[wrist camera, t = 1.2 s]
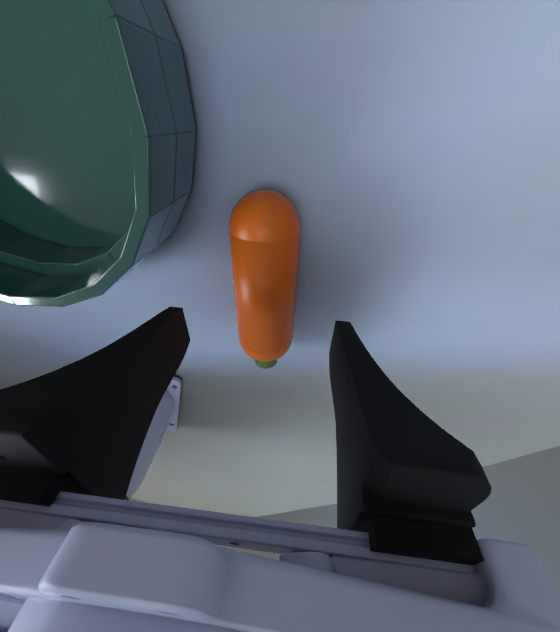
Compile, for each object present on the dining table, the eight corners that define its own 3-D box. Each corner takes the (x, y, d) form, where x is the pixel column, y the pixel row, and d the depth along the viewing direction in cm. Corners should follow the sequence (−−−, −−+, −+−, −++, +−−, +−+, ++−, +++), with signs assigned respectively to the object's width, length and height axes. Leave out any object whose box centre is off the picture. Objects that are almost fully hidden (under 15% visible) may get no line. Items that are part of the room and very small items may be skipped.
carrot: (294, 347, 21) (285, 384, 18) (249, 340, 21) (234, 374, 18) (307, 185, 14) (297, 203, 11) (240, 180, 14) (213, 196, 11)
